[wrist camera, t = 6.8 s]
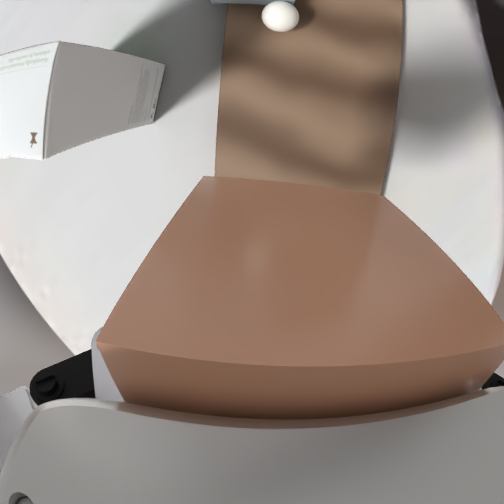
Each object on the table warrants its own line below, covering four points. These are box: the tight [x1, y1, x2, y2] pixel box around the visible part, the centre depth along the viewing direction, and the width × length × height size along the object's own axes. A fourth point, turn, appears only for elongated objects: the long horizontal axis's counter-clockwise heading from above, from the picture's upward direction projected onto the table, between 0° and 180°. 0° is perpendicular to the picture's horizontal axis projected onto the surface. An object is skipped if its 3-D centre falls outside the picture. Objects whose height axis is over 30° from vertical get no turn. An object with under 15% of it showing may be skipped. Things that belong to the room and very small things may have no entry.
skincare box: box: [0, 41, 166, 160], centre depth 15 cm, size 8×7×16 cm
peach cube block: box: [95, 176, 504, 419], centre depth 8 cm, size 7×7×8 cm
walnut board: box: [215, 0, 402, 195], centre depth 20 cm, size 30×16×2 cm, turn 175°
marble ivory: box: [262, 1, 299, 32], centre depth 16 cm, size 3×3×3 cm
